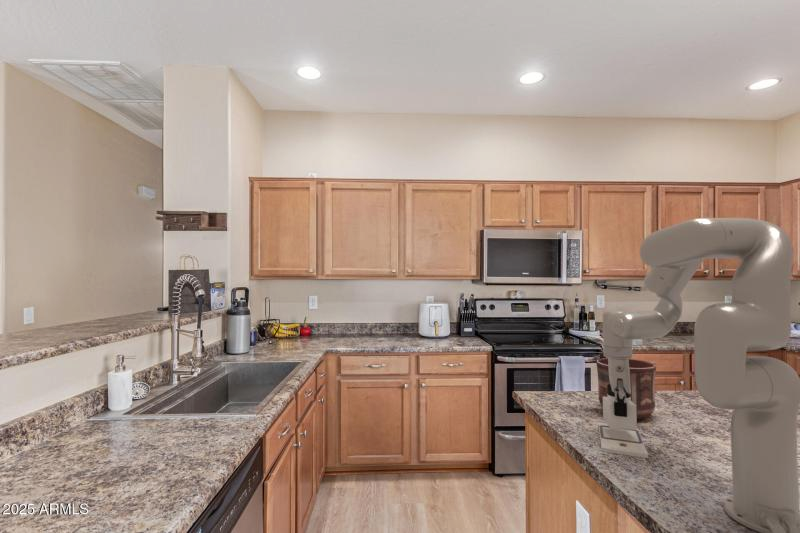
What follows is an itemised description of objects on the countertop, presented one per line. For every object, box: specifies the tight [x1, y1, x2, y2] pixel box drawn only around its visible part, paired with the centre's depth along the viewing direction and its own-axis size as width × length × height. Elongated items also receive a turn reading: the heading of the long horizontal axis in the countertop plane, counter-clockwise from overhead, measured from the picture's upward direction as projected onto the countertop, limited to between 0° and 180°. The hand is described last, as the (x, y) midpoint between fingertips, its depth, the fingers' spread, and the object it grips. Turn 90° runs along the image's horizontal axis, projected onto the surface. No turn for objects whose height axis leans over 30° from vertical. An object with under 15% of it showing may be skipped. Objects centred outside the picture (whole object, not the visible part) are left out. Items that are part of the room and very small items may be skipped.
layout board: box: [597, 422, 649, 459], centre depth 113 cm, size 20×11×1 cm, turn 156°
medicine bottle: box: [602, 383, 638, 430], centre depth 115 cm, size 7×7×12 cm
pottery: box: [596, 357, 657, 422], centre depth 134 cm, size 18×18×18 cm
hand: (619, 410), depth 115 cm, fingers closed on medicine bottle, 8 cm apart
